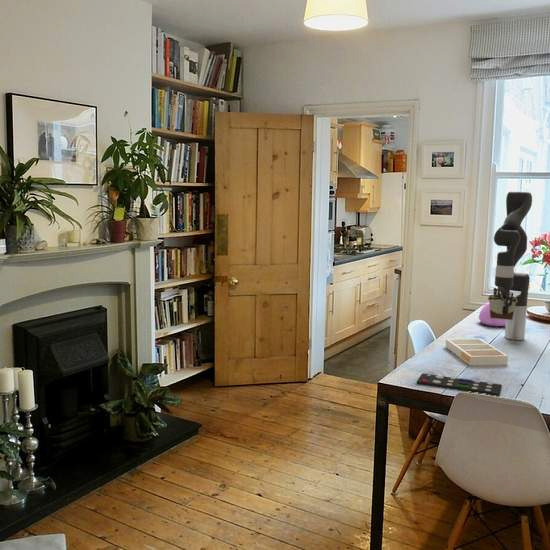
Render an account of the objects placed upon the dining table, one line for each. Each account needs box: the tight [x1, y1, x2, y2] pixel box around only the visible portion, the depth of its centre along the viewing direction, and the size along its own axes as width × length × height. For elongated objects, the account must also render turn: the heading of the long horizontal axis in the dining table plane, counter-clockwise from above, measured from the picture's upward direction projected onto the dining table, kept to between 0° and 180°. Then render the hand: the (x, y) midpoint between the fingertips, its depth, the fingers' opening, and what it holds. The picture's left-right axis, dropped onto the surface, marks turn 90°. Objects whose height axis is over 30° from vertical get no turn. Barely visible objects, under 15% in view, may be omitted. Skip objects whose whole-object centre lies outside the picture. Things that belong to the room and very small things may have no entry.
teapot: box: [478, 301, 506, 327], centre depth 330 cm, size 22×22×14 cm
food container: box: [487, 294, 518, 320], centre depth 266 cm, size 12×6×10 cm, turn 69°
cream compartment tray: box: [445, 338, 509, 366], centre depth 271 cm, size 29×17×4 cm, turn 5°
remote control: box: [416, 373, 503, 397], centre depth 231 cm, size 11×30×2 cm, turn 65°
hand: (501, 312), depth 265 cm, fingers closed on food container, 6 cm apart
